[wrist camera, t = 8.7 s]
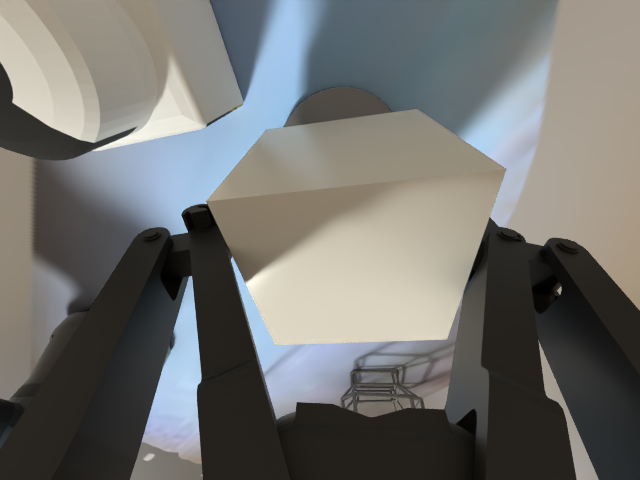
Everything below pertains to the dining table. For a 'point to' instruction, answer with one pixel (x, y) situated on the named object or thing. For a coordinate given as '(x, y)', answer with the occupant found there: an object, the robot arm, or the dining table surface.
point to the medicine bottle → (109, 73)
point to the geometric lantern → (363, 392)
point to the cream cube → (357, 227)
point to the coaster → (336, 106)
